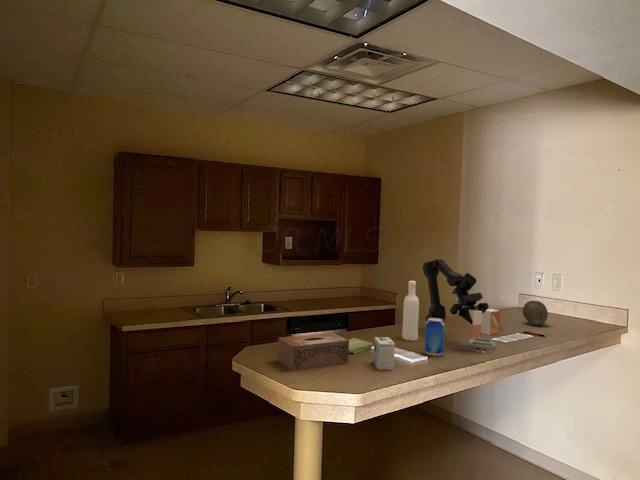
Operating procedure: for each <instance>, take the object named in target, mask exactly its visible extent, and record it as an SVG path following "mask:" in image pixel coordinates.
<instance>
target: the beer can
mask: <svg viewBox="0 0 640 480" xmlns="http://www.w3.org/2000/svg"><path fill="white" fill-rule="evenodd" d="M445 328H446V326H445V322H444V323H443V320H442V319H439V318H428V321H427V322H426V321H425V332H424V333H425V335H424V336H425V337H424V352H425V353H426V355H428V356H431V355H432V357H439V356H442V355H443V353H444V347H445Z"/></svg>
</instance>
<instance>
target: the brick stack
mask: <svg viewBox="0 0 640 480" xmlns="http://www.w3.org/2000/svg"><path fill="white" fill-rule="evenodd" d="M468 311H469V315H470V317H471V319H472V322H473V324H470V323H469V322H468V321H467V330H466V331H467V332H466V335H467V337H470V339H471V338H482V333H481V324H482V311H479V310H468Z"/></svg>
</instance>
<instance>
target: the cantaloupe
mask: <svg viewBox="0 0 640 480" xmlns="http://www.w3.org/2000/svg"><path fill="white" fill-rule="evenodd" d="M548 313H549V312H548V308H547V306H546V305H545V304H544V303H543V302H541V301H539V300H530V301H529V300H528V301H527V302H526V303H524V304H523V306H522V315H523V318H524V319H525V320H526V321H527V322H528V323H530V324H531V325H533V326H536V327H538V326H542V325H544V324H545V323H546V321H547V319H548V317H549V316H548V315H549V314H548Z"/></svg>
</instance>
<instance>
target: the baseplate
mask: <svg viewBox="0 0 640 480" xmlns="http://www.w3.org/2000/svg"><path fill="white" fill-rule="evenodd" d="M468 347H473V348H479V349H480V348H481V349H489V350H495V348H496V341H495V340H493V339H490V338H482V337H481V338H471V337H470V339H469V343H468Z"/></svg>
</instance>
